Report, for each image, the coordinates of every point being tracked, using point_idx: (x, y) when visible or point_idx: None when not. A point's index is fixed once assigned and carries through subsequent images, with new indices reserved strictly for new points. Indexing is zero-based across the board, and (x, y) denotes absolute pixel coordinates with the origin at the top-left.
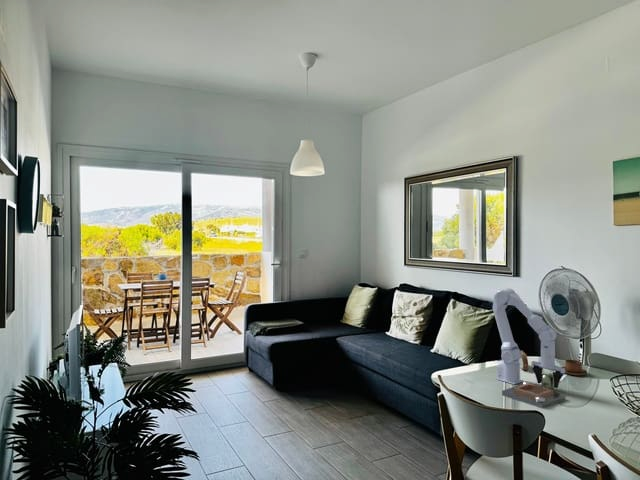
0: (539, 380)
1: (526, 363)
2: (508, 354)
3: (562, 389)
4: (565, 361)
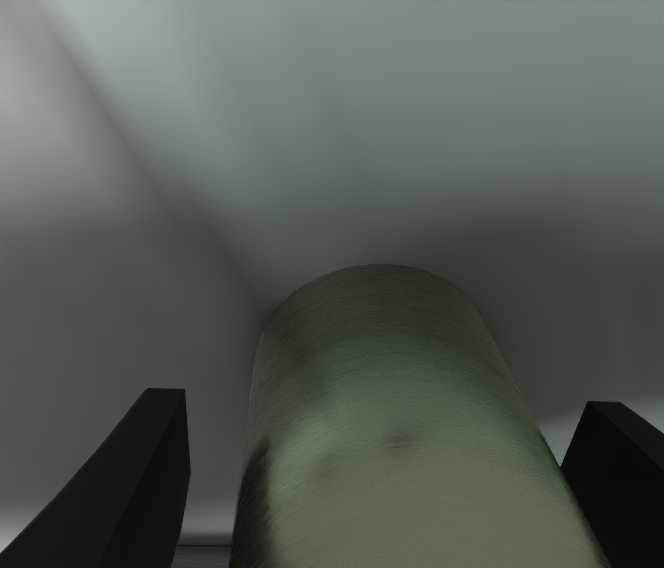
0: (172, 515)
1: None
2: None
3: (634, 104)
4: None
